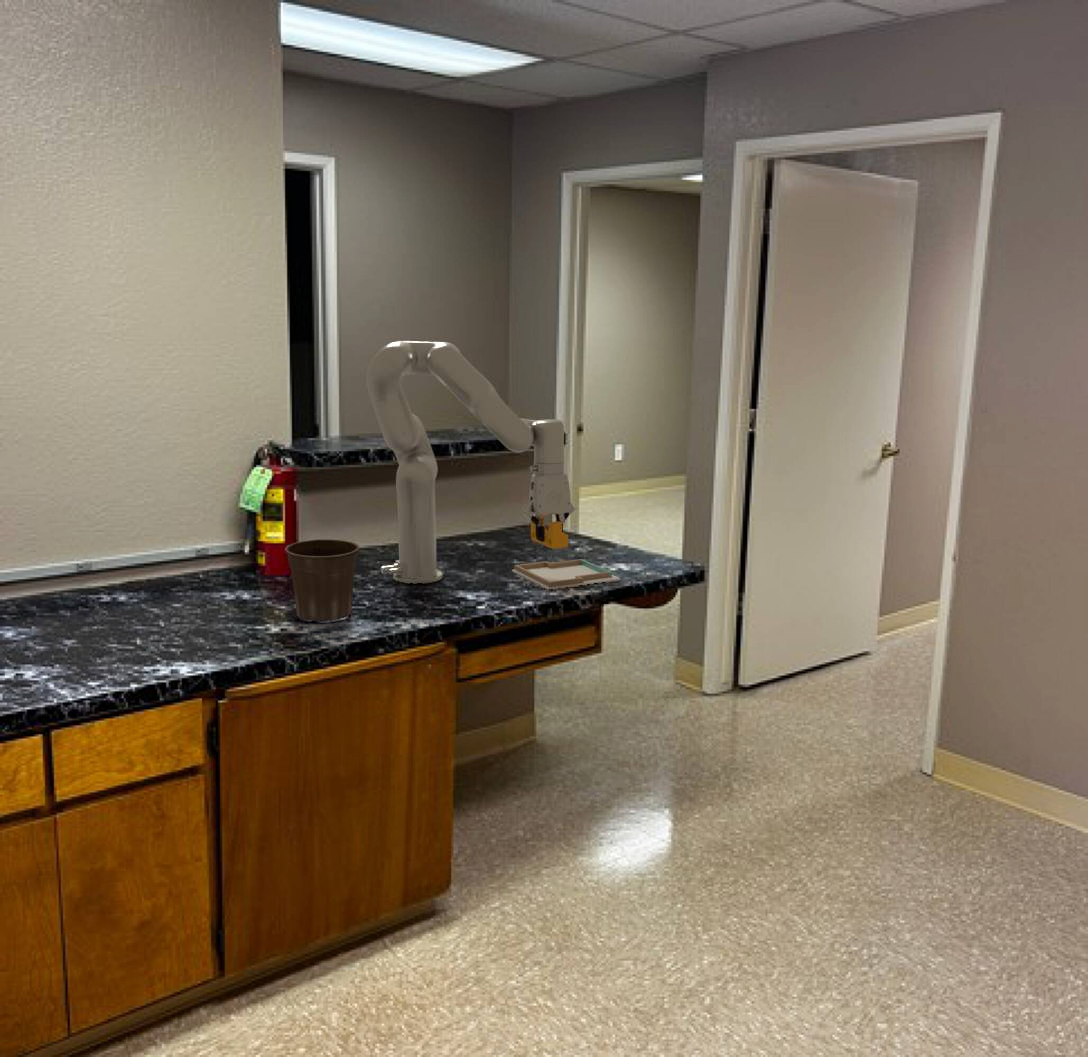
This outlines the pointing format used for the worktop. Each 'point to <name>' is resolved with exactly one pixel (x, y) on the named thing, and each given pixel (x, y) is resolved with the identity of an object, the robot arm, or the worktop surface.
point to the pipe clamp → (551, 535)
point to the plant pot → (322, 578)
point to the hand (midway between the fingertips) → (549, 538)
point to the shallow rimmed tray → (564, 573)
